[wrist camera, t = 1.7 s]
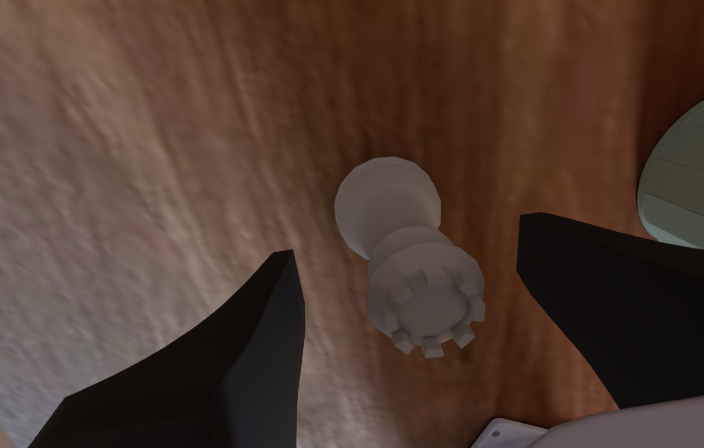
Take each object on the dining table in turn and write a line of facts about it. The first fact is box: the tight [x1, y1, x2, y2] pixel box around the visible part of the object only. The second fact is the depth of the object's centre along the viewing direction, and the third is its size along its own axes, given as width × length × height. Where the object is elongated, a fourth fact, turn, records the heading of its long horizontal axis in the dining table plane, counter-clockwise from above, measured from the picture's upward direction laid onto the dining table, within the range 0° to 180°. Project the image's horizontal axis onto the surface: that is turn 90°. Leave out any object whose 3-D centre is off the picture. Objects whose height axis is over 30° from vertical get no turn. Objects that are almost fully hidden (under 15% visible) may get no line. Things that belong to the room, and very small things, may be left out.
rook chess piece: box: [334, 156, 486, 359], centre depth 13 cm, size 4×4×8 cm
